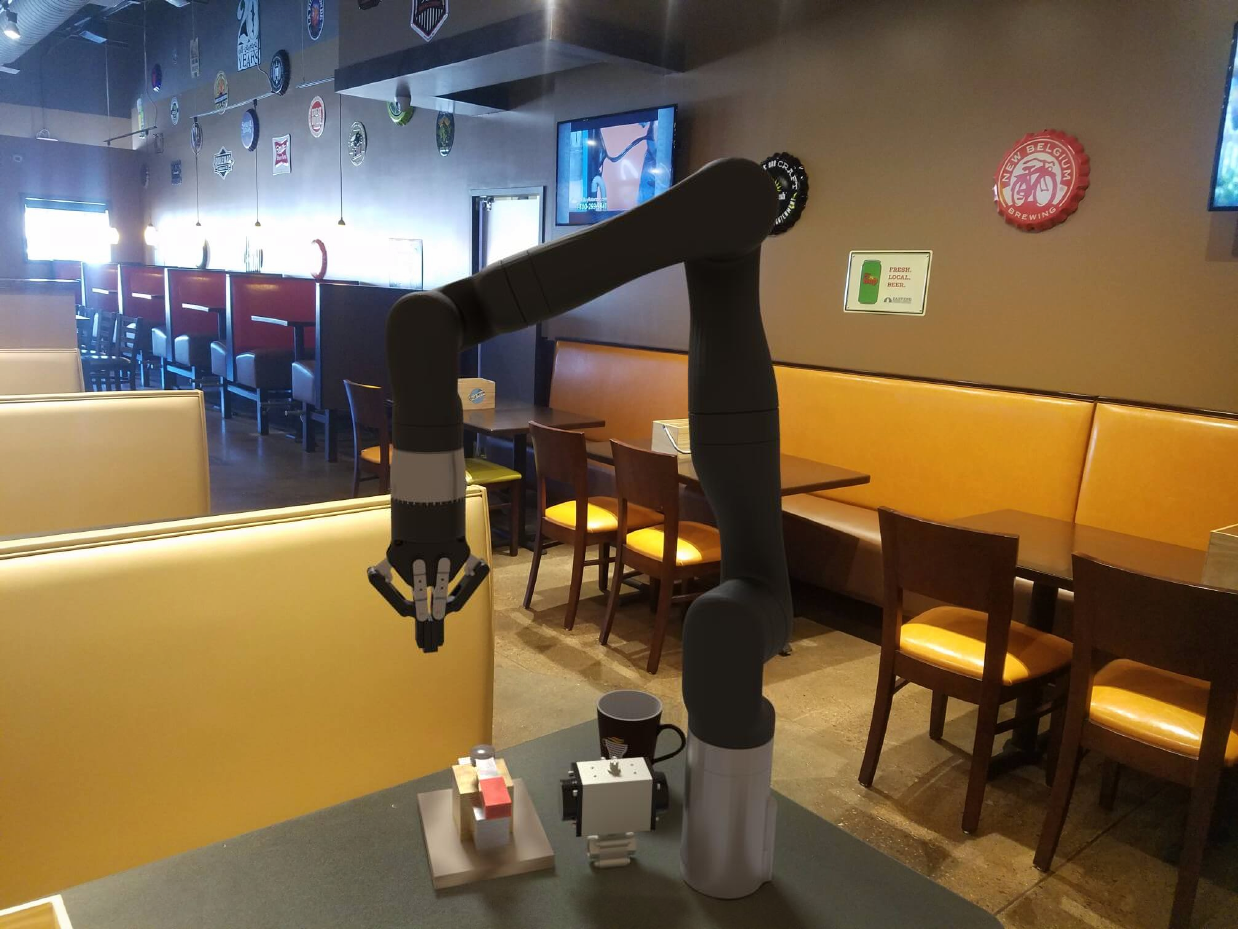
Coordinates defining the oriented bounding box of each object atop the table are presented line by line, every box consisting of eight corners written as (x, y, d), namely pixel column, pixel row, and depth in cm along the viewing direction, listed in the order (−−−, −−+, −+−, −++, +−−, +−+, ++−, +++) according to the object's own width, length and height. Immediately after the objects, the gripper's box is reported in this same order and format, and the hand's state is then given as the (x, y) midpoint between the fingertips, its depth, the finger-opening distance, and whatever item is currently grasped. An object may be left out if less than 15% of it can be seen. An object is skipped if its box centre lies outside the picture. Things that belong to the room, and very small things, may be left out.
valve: (496, 788, 108) (497, 733, 106) (520, 852, 96) (520, 791, 94) (448, 796, 106) (447, 740, 104) (465, 862, 94) (465, 800, 92)
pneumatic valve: (666, 867, 96) (671, 768, 94) (561, 878, 94) (564, 777, 92) (654, 837, 102) (658, 742, 99) (555, 846, 99) (557, 750, 97)
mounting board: (521, 788, 110) (521, 778, 110) (554, 867, 96) (554, 854, 95) (417, 805, 106) (417, 793, 106) (434, 889, 91) (434, 876, 91)
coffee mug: (581, 770, 115) (583, 700, 113) (632, 751, 120) (634, 684, 118) (635, 812, 106) (638, 737, 104) (688, 790, 111) (692, 718, 109)
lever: (468, 758, 100) (468, 745, 100) (492, 755, 101) (492, 742, 100) (485, 820, 88) (485, 806, 88) (512, 816, 89) (512, 802, 89)
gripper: (485, 480, 94) (484, 630, 97) (358, 485, 90) (361, 643, 93) (500, 496, 87) (498, 657, 91) (364, 502, 83) (367, 672, 86)
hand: (429, 650), depth 92 cm, fingers closed
